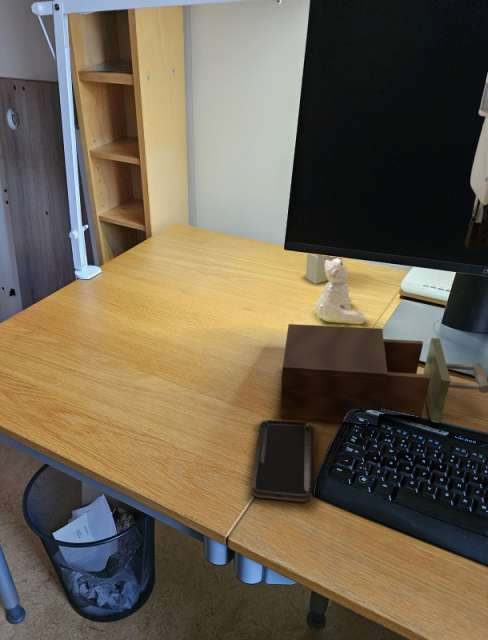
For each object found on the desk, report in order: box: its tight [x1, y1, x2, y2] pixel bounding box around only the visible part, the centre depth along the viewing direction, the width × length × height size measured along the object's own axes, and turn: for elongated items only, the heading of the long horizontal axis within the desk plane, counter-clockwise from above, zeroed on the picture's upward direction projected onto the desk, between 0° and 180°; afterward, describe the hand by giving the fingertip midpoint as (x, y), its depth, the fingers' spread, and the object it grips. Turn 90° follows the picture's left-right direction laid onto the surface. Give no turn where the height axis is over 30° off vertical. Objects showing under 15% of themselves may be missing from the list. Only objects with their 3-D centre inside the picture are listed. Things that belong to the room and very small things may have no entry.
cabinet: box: [279, 323, 388, 424], centre depth 87 cm, size 15×13×10 cm
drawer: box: [381, 337, 488, 422], centre depth 85 cm, size 20×11×8 cm, turn 78°
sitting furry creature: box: [314, 258, 365, 325], centre depth 107 cm, size 10×9×12 cm
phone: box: [251, 419, 314, 503], centre depth 79 cm, size 8×1×15 cm
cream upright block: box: [305, 253, 343, 285], centre depth 122 cm, size 4×7×10 cm, turn 118°
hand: (477, 248), depth 77 cm, fingers closed
